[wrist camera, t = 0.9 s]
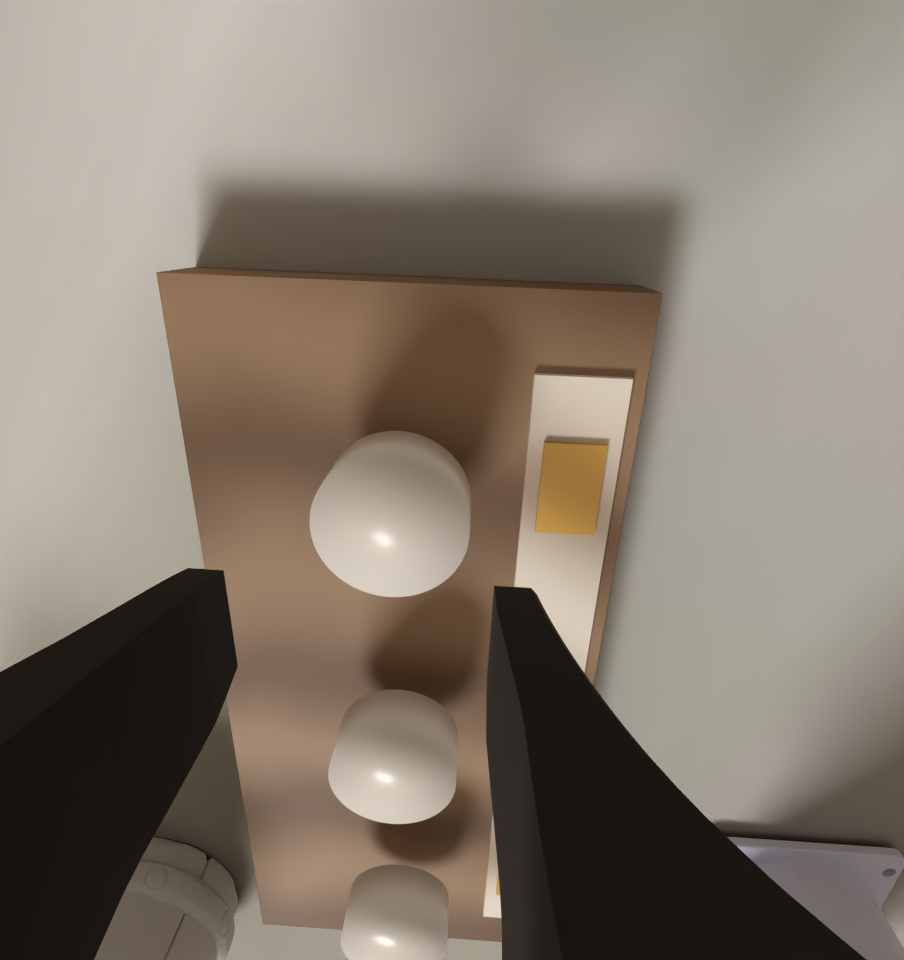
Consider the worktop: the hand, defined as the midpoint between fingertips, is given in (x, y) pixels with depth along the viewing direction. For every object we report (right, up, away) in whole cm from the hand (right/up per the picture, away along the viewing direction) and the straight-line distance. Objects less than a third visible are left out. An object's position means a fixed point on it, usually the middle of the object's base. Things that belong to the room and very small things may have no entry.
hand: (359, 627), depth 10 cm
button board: (0, -4, +11) cm, 12 cm away
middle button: (0, -5, +8) cm, 9 cm away
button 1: (0, -13, +11) cm, 17 cm away
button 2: (0, +2, +5) cm, 5 cm away
